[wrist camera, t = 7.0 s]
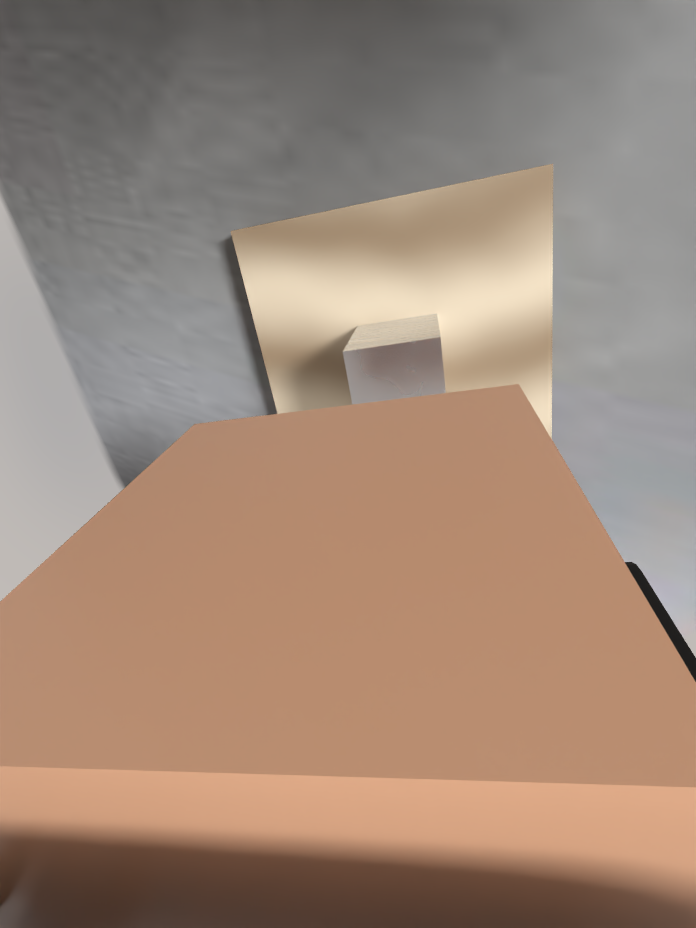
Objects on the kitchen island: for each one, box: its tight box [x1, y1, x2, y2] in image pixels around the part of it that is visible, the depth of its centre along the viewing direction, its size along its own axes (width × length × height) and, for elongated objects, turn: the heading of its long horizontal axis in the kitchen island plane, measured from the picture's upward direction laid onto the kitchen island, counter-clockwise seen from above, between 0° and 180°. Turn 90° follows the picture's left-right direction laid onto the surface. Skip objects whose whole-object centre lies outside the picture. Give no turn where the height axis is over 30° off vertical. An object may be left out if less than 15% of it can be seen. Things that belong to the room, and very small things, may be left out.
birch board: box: [231, 164, 553, 439], centre depth 24 cm, size 14×14×1 cm
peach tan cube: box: [0, 384, 696, 928], centre depth 8 cm, size 6×6×7 cm
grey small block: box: [343, 313, 446, 405], centre depth 22 cm, size 4×4×5 cm
